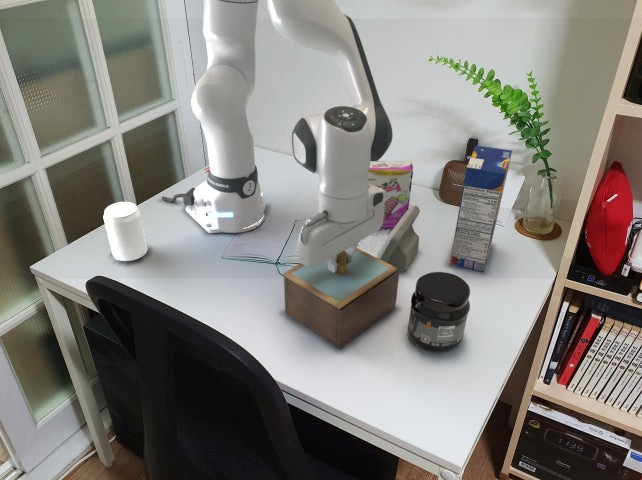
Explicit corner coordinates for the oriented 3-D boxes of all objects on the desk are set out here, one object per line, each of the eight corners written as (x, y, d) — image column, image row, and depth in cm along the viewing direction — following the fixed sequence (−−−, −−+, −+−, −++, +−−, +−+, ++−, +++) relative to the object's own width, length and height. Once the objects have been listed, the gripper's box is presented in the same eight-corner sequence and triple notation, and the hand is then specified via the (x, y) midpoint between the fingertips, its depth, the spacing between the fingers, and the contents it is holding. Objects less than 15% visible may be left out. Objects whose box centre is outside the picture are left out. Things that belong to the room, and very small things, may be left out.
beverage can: (154, 248, 135) (146, 204, 128) (134, 266, 130) (123, 221, 122) (127, 241, 138) (117, 198, 131) (106, 258, 132) (94, 214, 125)
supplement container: (429, 311, 114) (437, 262, 107) (473, 337, 108) (485, 287, 101) (395, 334, 109) (401, 285, 102) (440, 363, 102) (449, 313, 95)
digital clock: (397, 237, 137) (401, 198, 131) (430, 249, 132) (436, 210, 126) (359, 267, 127) (361, 227, 121) (393, 282, 122) (397, 240, 116)
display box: (285, 313, 115) (283, 275, 109) (340, 278, 124) (342, 241, 118) (339, 349, 106) (341, 310, 100) (395, 308, 115) (399, 270, 110)
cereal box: (459, 239, 136) (476, 145, 121) (490, 245, 133) (512, 150, 119) (449, 265, 127) (466, 167, 113) (483, 272, 124) (505, 173, 110)
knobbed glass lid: (283, 275, 109) (282, 256, 106) (340, 242, 118) (341, 223, 115) (339, 309, 100) (340, 289, 97) (396, 270, 109) (399, 250, 106)
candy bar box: (361, 229, 140) (365, 168, 131) (361, 219, 144) (365, 159, 135) (406, 230, 139) (413, 169, 130) (405, 220, 143) (412, 160, 134)
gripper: (314, 230, 92) (314, 296, 100) (392, 188, 103) (386, 251, 112) (288, 217, 96) (290, 281, 104) (366, 178, 107) (362, 239, 115)
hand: (340, 265), depth 108 cm, fingers closed on knobbed glass lid, 2 cm apart
